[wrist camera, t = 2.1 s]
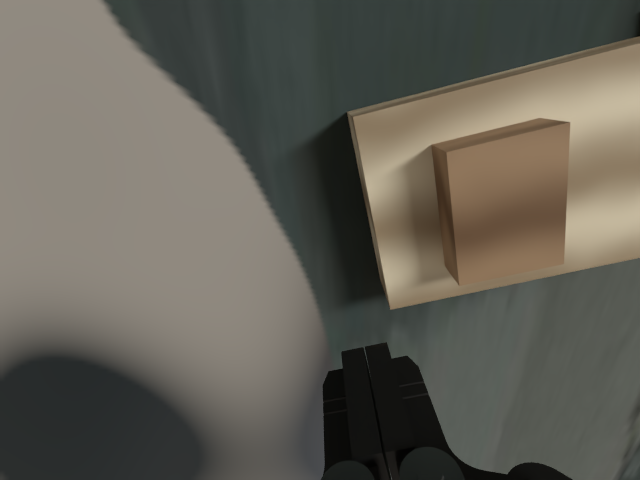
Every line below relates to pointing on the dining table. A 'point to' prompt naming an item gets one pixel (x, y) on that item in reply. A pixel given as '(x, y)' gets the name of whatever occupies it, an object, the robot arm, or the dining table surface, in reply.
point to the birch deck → (491, 113)
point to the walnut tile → (503, 199)
